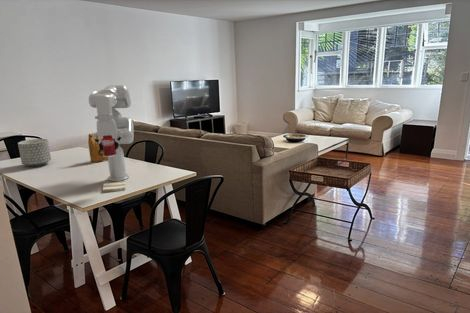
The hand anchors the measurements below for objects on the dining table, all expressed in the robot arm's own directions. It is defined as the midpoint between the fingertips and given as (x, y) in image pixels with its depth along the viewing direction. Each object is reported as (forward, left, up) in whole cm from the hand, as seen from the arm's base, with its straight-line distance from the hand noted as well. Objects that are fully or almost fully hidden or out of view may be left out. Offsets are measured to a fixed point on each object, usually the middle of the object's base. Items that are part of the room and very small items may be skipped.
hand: (109, 149), depth 183 cm
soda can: (0, 0, -4) cm, 4 cm away
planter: (-80, -56, -24) cm, 100 cm away
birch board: (-3, 0, -24) cm, 24 cm away
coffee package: (-74, -12, -24) cm, 79 cm away
